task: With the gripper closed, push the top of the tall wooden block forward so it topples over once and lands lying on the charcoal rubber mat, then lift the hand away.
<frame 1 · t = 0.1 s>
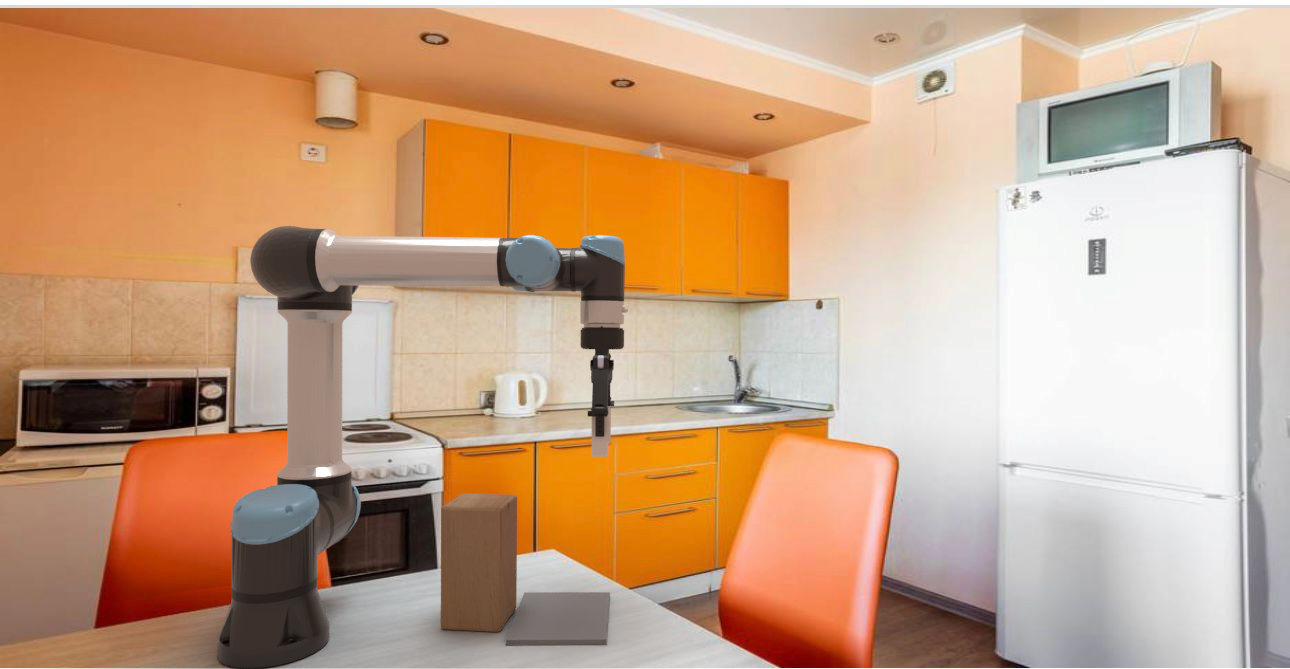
hand: (601, 449, 124), 28 cm above the table, fingers open, 13 cm apart
wooden block: (479, 620, 120), on the table
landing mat: (562, 618, 120), on the table
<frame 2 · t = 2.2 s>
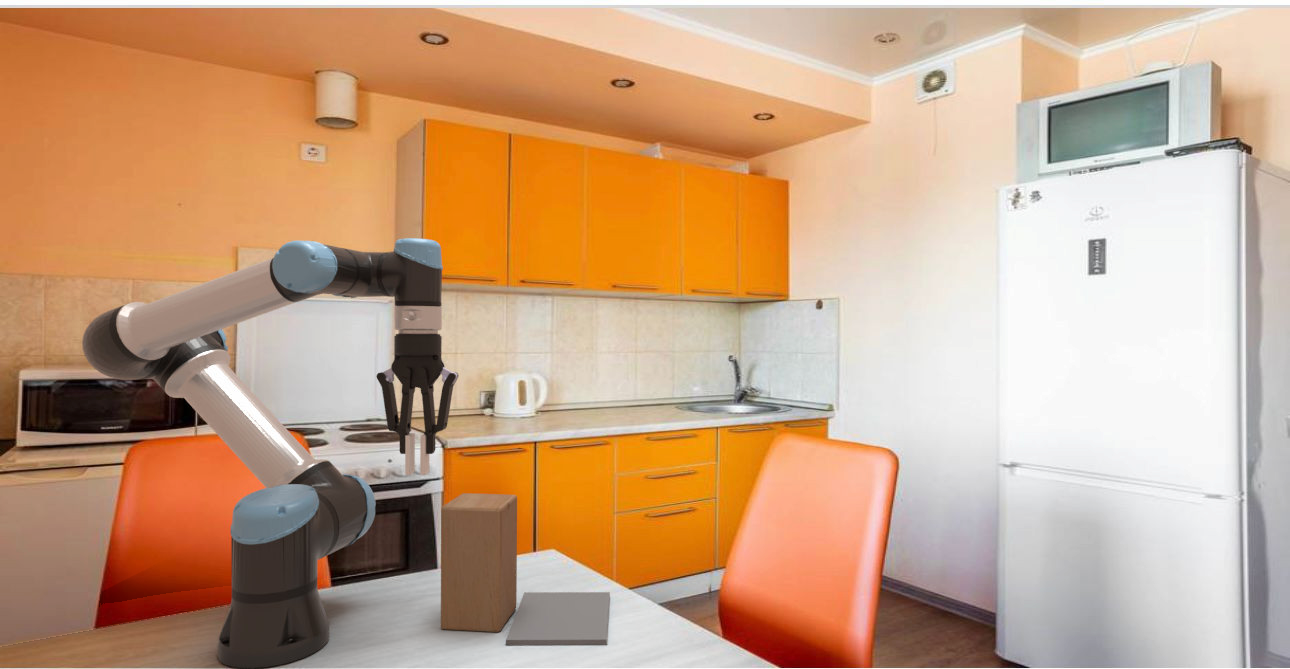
hand: (417, 473, 120), 24 cm above the table, fingers closed
nothing on the table moved.
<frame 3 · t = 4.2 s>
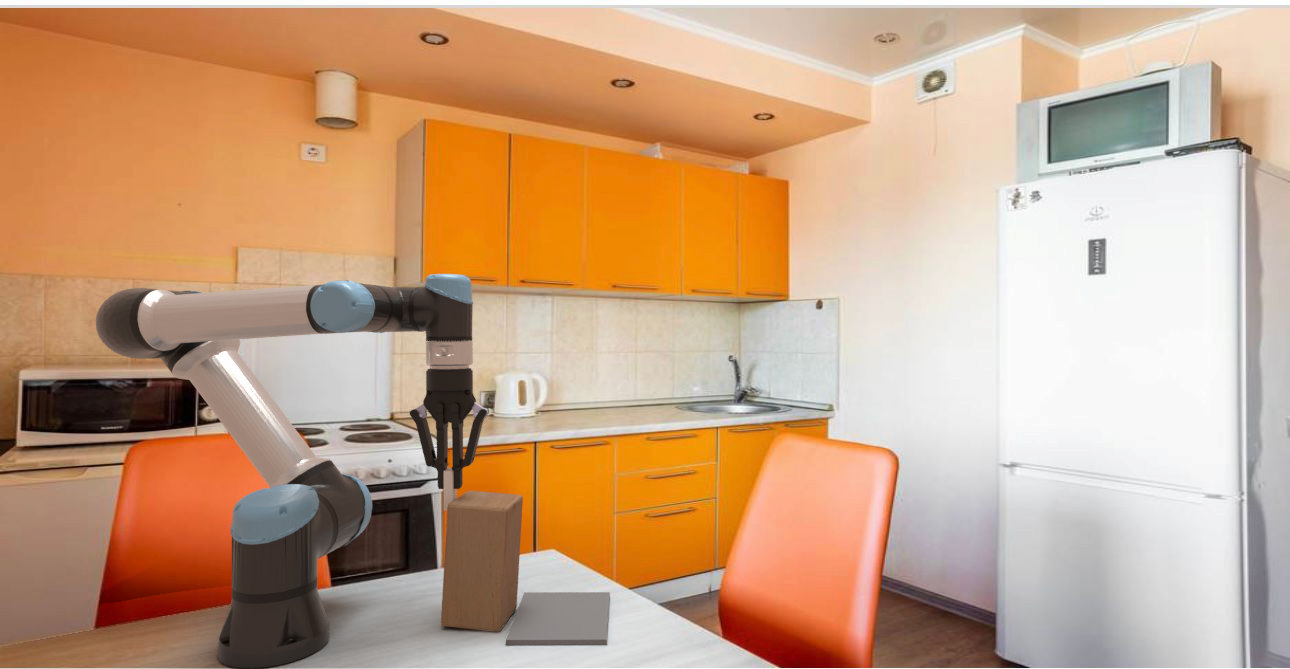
hand: (450, 508, 120), 19 cm above the table, fingers closed
wooden block: (479, 618, 120), on the table, touching gripper
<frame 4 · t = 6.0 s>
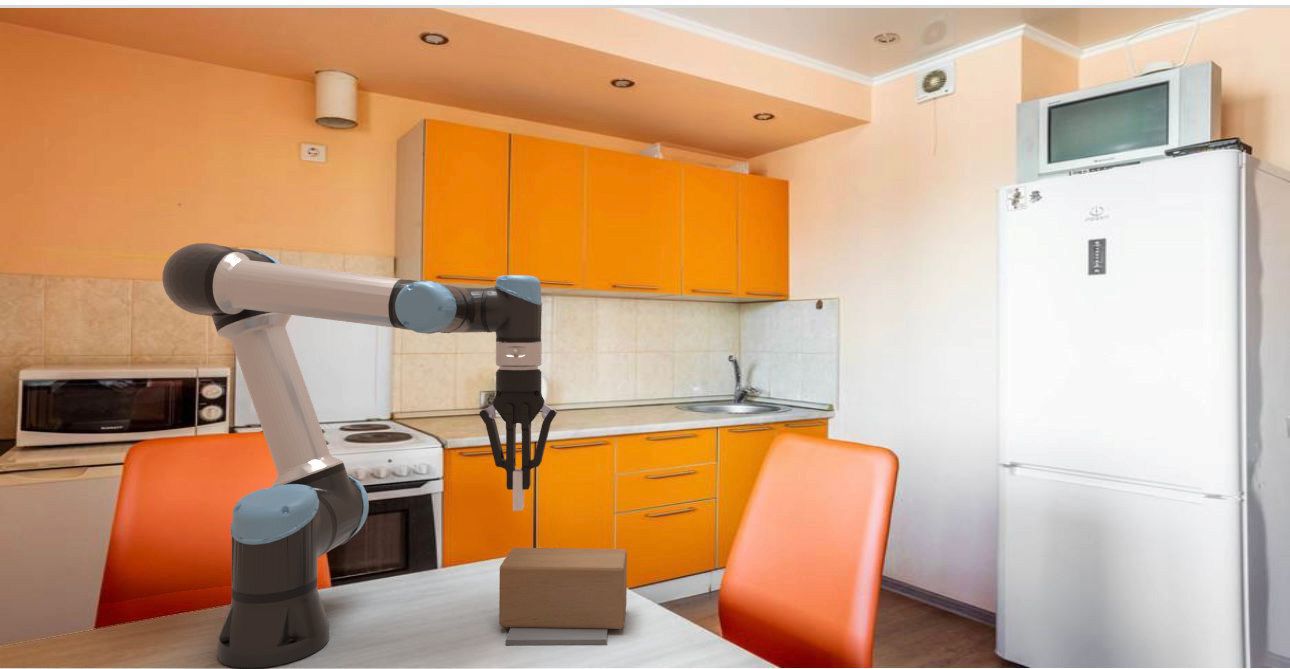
hand: (518, 508, 120), 19 cm above the table, fingers closed
wooden block: (504, 585, 120), point 6 cm above the table, touching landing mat
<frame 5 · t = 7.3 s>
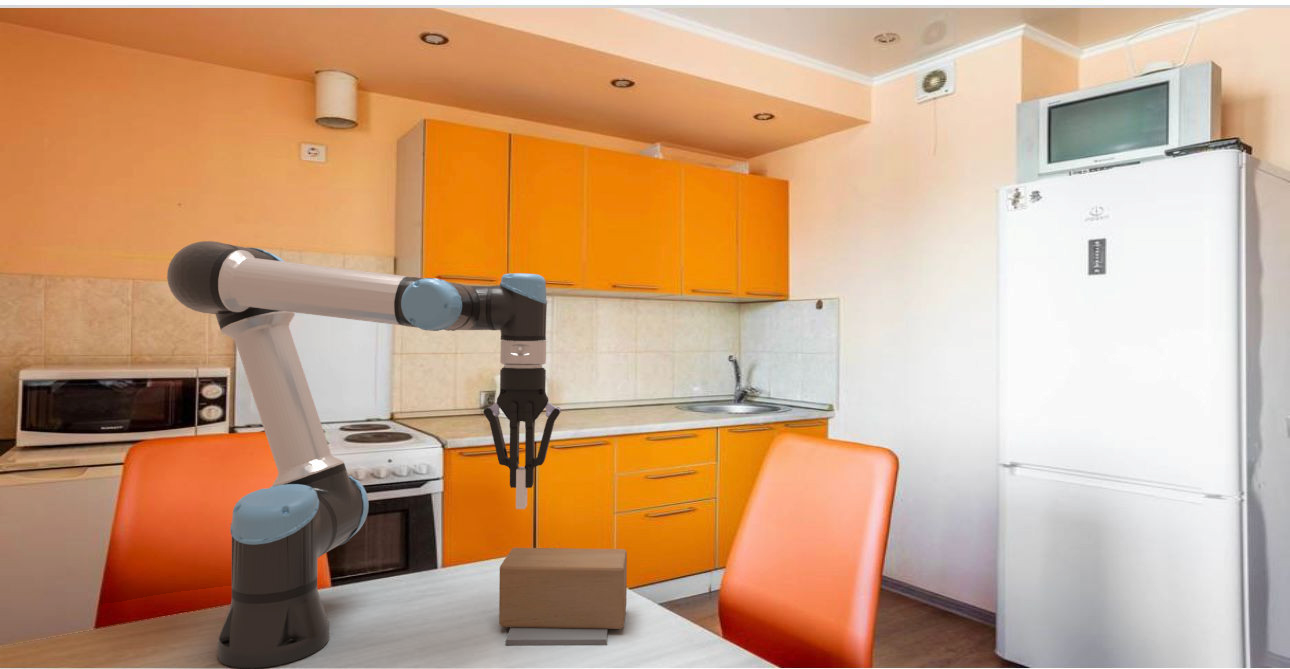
hand: (521, 506, 120), 19 cm above the table, fingers closed
nothing on the table moved.
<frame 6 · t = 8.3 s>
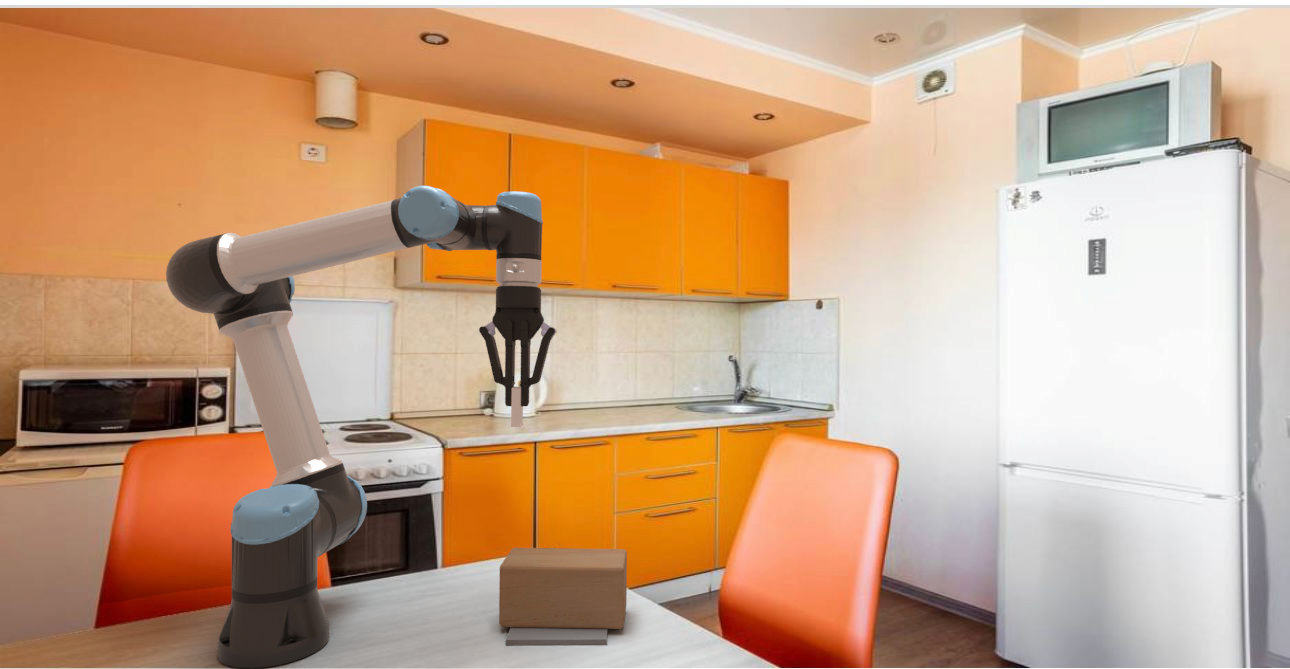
hand: (516, 425, 121), 32 cm above the table, fingers closed
nothing on the table moved.
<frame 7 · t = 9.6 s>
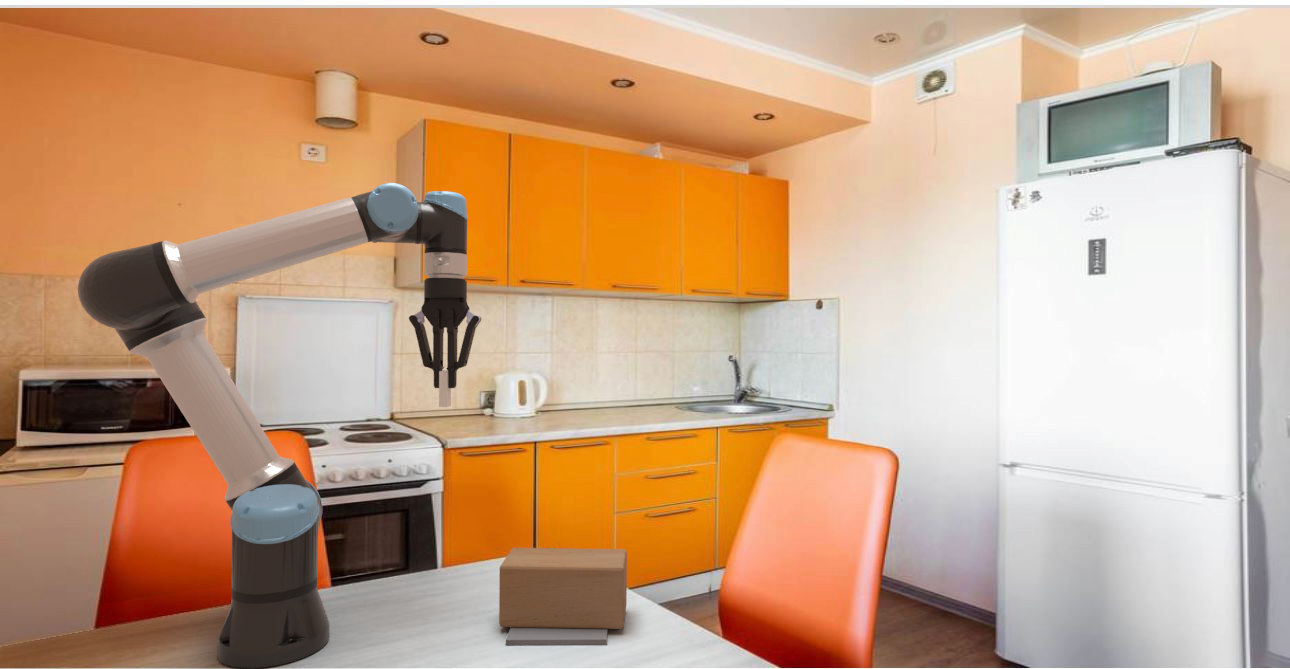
hand: (445, 406, 132), 34 cm above the table, fingers closed
nothing on the table moved.
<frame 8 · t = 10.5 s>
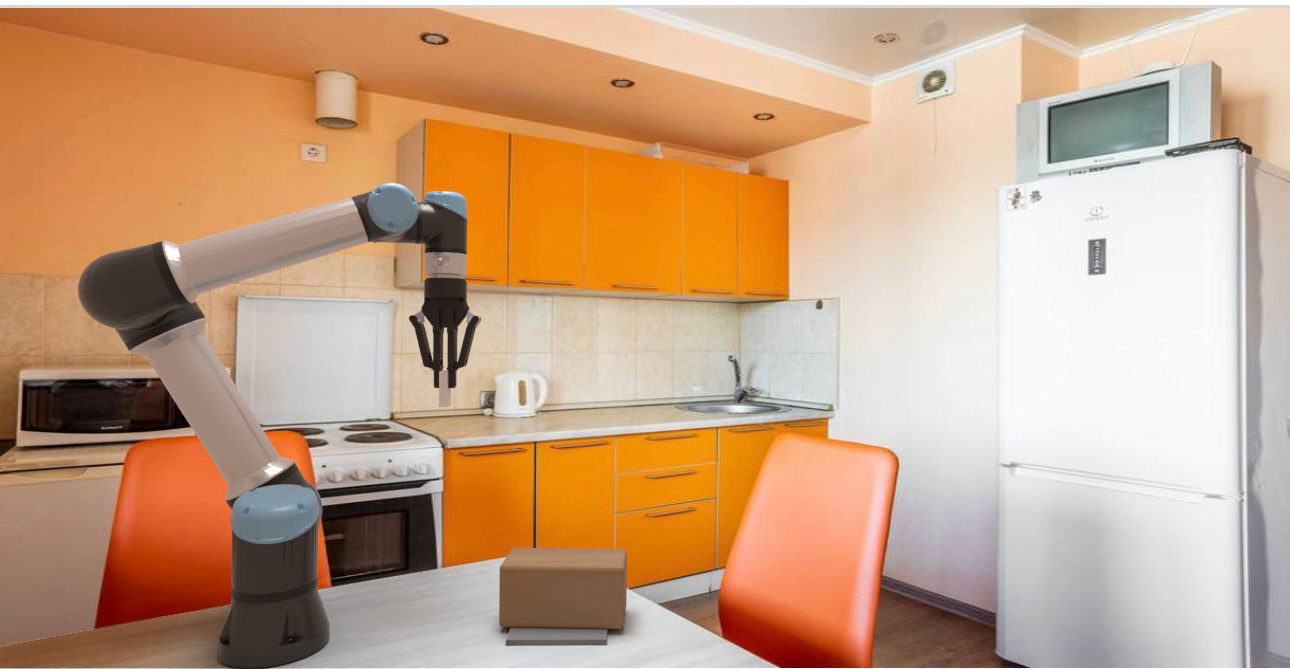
hand: (445, 406, 132), 34 cm above the table, fingers closed
nothing on the table moved.
at the end: wooden block tilted 90°; wooden block touching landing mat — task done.
